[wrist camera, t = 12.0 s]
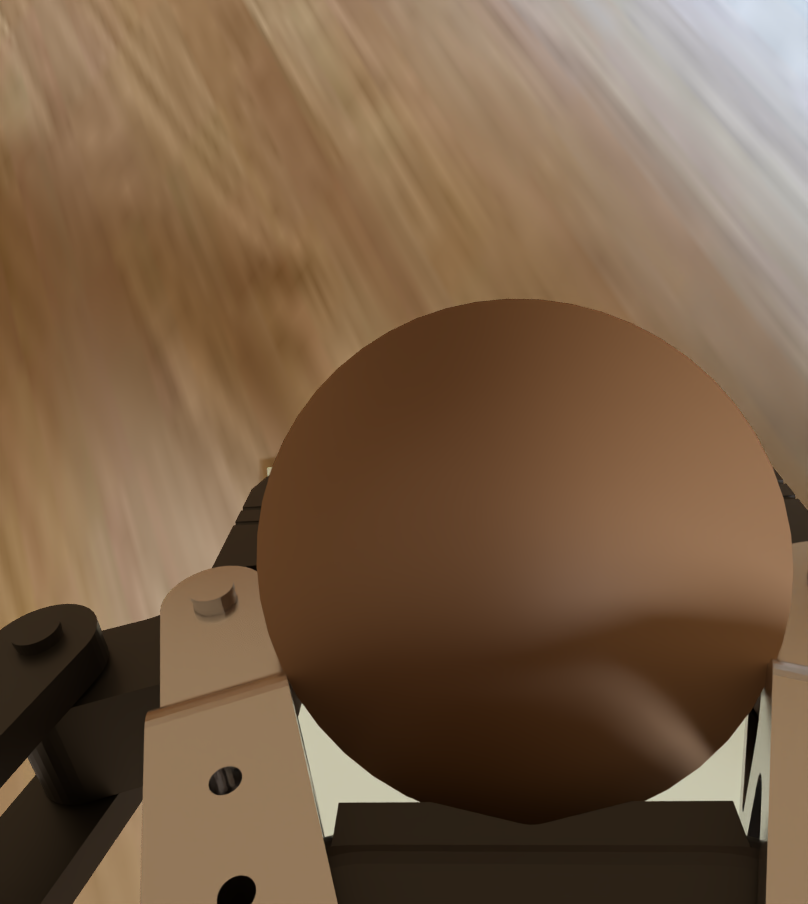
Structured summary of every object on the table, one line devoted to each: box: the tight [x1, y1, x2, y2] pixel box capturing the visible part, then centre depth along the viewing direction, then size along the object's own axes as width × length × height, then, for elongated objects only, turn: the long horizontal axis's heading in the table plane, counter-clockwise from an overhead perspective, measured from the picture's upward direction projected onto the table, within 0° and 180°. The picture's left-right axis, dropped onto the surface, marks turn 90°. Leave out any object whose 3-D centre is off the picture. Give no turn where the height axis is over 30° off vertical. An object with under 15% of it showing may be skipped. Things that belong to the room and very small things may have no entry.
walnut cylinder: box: [257, 299, 793, 825], centre depth 11 cm, size 5×5×9 cm
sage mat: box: [267, 467, 746, 837], centre depth 24 cm, size 16×14×1 cm
